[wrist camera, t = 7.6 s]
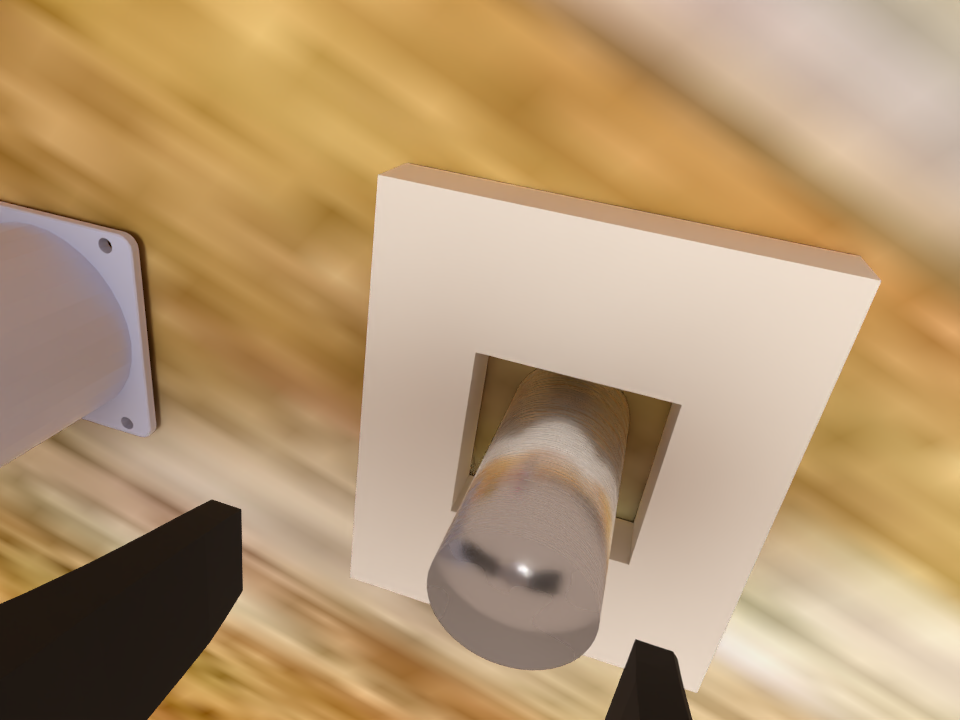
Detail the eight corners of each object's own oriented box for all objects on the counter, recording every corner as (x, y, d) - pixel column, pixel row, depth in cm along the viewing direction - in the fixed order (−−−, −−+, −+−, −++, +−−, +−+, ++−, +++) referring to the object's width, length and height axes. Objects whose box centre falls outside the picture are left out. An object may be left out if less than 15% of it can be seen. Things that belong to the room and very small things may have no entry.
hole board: (373, 540, 25) (350, 577, 23) (407, 162, 18) (378, 174, 17) (696, 643, 23) (697, 693, 21) (860, 256, 16) (881, 281, 15)
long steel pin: (513, 456, 22) (430, 650, 15) (513, 356, 20) (422, 518, 13) (625, 471, 21) (594, 686, 14) (634, 367, 19) (605, 549, 12)
